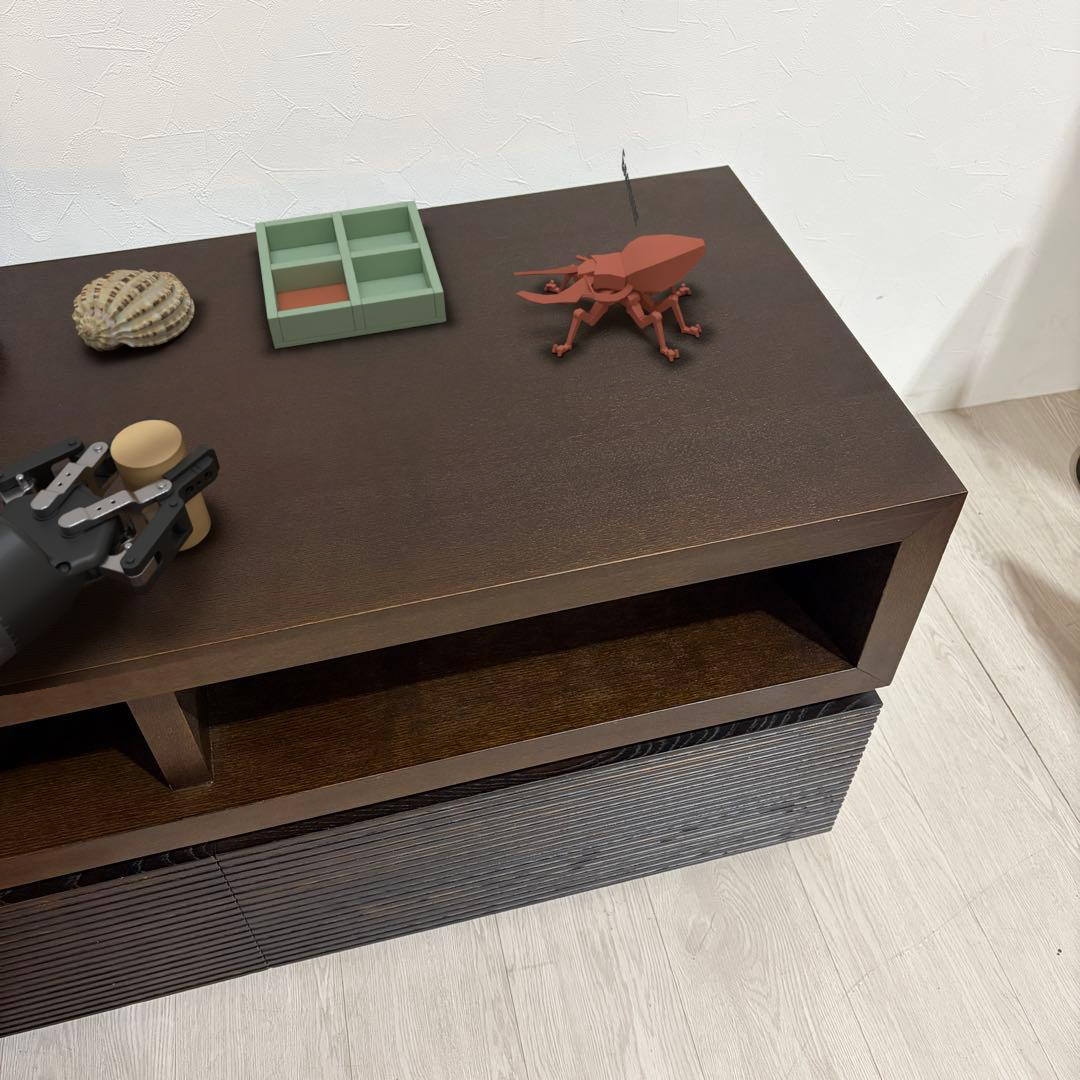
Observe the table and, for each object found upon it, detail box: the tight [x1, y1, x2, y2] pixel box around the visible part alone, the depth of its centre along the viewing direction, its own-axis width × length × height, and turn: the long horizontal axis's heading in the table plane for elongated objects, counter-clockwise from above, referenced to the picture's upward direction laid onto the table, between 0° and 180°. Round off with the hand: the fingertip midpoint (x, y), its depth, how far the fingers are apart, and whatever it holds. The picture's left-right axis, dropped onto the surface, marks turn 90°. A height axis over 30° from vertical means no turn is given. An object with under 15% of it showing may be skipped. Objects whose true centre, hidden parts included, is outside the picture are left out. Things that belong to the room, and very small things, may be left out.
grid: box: [254, 200, 447, 350], centre depth 92 cm, size 14×14×3 cm
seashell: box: [71, 268, 195, 352], centre depth 88 cm, size 8×6×10 cm
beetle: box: [513, 148, 707, 362], centre depth 86 cm, size 15×12×13 cm
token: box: [111, 419, 212, 552], centre depth 72 cm, size 4×4×8 cm
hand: (185, 441), depth 72 cm, fingers closed on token, 4 cm apart
